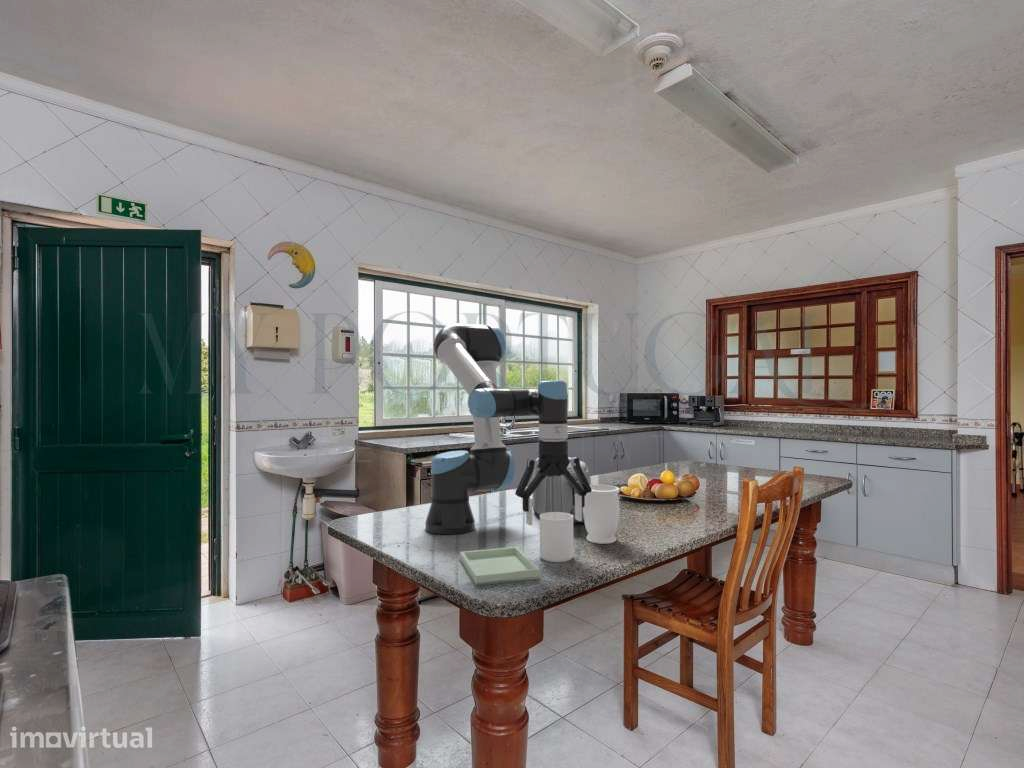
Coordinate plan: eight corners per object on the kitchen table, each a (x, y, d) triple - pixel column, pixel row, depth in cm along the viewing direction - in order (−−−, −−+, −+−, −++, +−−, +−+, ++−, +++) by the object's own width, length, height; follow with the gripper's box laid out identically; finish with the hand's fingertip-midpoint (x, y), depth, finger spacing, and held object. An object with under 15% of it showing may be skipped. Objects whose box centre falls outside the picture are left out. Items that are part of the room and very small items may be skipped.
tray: (460, 560, 137) (460, 551, 137) (516, 555, 141) (516, 546, 141) (475, 585, 120) (475, 576, 120) (540, 578, 124) (540, 569, 124)
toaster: (549, 529, 166) (549, 467, 166) (524, 508, 194) (524, 455, 194) (600, 526, 170) (600, 465, 170) (569, 505, 198) (569, 453, 198)
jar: (625, 544, 150) (625, 490, 150) (589, 546, 148) (589, 491, 148) (612, 534, 161) (612, 483, 161) (578, 535, 159) (578, 484, 159)
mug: (556, 547, 148) (556, 507, 148) (579, 560, 137) (579, 517, 137) (528, 551, 145) (528, 511, 145) (549, 564, 134) (549, 521, 134)
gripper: (511, 442, 134) (512, 529, 133) (603, 439, 141) (604, 521, 140) (503, 440, 141) (503, 522, 140) (591, 437, 148) (592, 515, 148)
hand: (554, 522), depth 140 cm, fingers open, 13 cm apart
